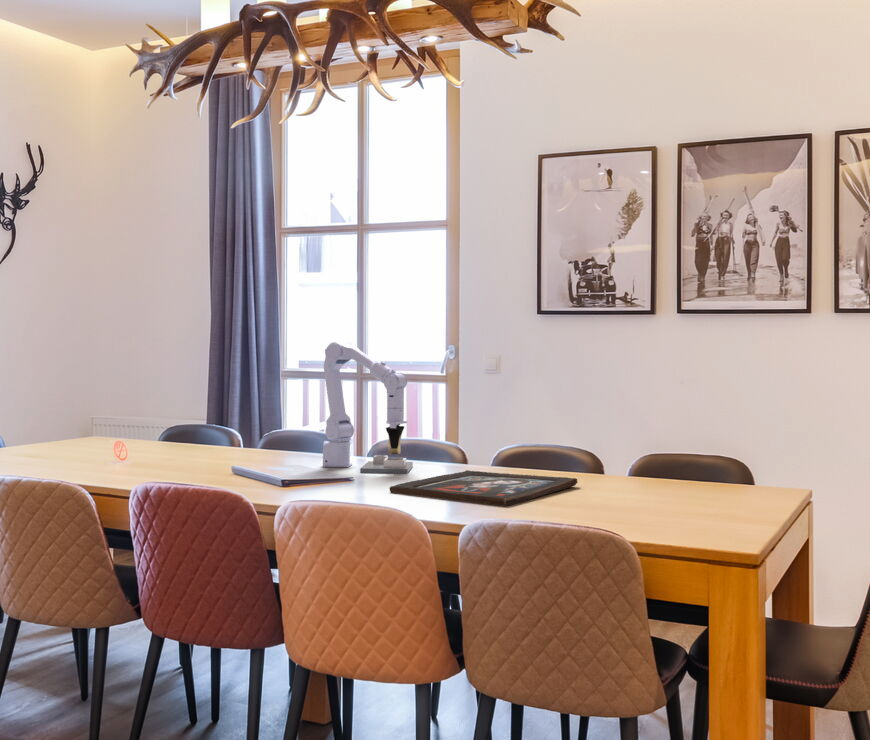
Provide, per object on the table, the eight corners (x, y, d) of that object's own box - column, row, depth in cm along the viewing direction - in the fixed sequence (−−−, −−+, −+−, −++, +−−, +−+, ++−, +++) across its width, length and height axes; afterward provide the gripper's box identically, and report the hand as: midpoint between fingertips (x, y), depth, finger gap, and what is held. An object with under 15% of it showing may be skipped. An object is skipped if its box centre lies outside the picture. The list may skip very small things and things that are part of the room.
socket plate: (360, 472, 293) (360, 460, 293) (368, 465, 313) (368, 454, 313) (407, 473, 292) (407, 461, 292) (412, 466, 312) (412, 454, 312)
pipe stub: (388, 454, 298) (388, 436, 298) (388, 452, 302) (388, 435, 302) (400, 454, 298) (400, 436, 298) (400, 452, 302) (400, 435, 302)
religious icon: (580, 486, 266) (580, 476, 266) (508, 509, 229) (508, 497, 229) (468, 477, 289) (468, 467, 289) (386, 496, 252) (386, 485, 251)
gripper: (404, 409, 292) (404, 450, 292) (408, 407, 306) (408, 445, 307) (384, 409, 292) (383, 449, 293) (389, 406, 307) (388, 445, 307)
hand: (395, 447), depth 300 cm, fingers closed on pipe stub, 4 cm apart
